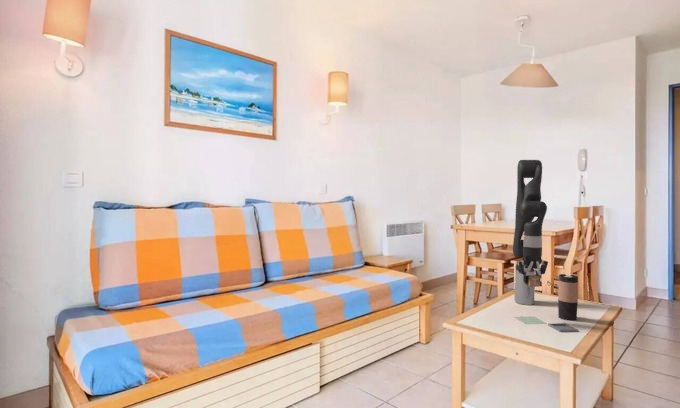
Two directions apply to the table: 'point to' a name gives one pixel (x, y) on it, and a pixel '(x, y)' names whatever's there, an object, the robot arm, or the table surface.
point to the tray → (563, 327)
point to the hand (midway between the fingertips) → (531, 283)
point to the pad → (530, 320)
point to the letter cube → (533, 280)
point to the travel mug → (568, 297)
